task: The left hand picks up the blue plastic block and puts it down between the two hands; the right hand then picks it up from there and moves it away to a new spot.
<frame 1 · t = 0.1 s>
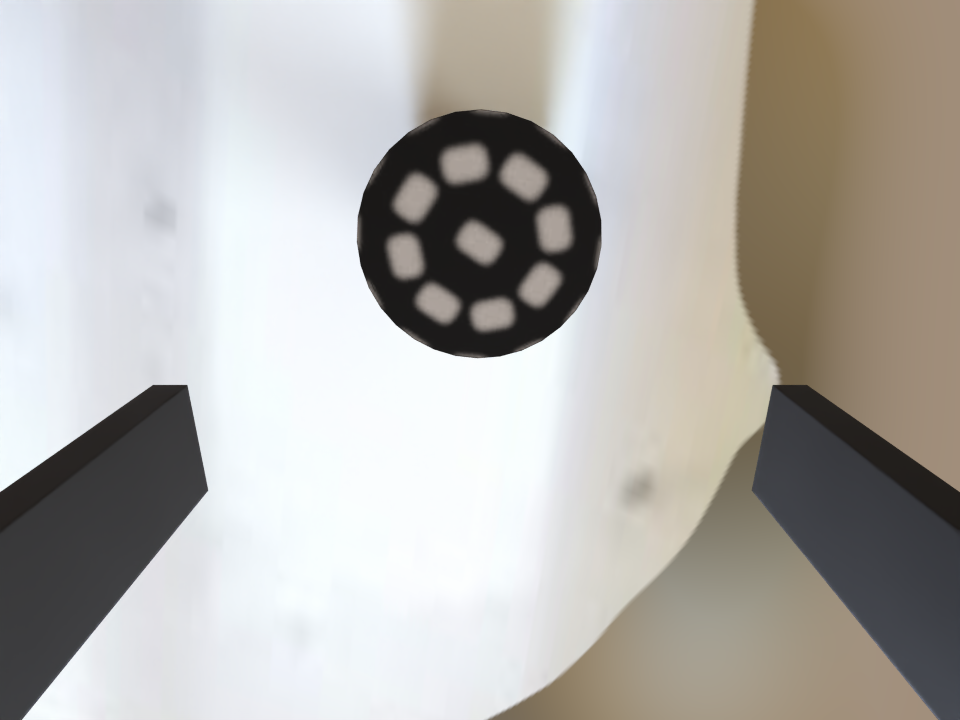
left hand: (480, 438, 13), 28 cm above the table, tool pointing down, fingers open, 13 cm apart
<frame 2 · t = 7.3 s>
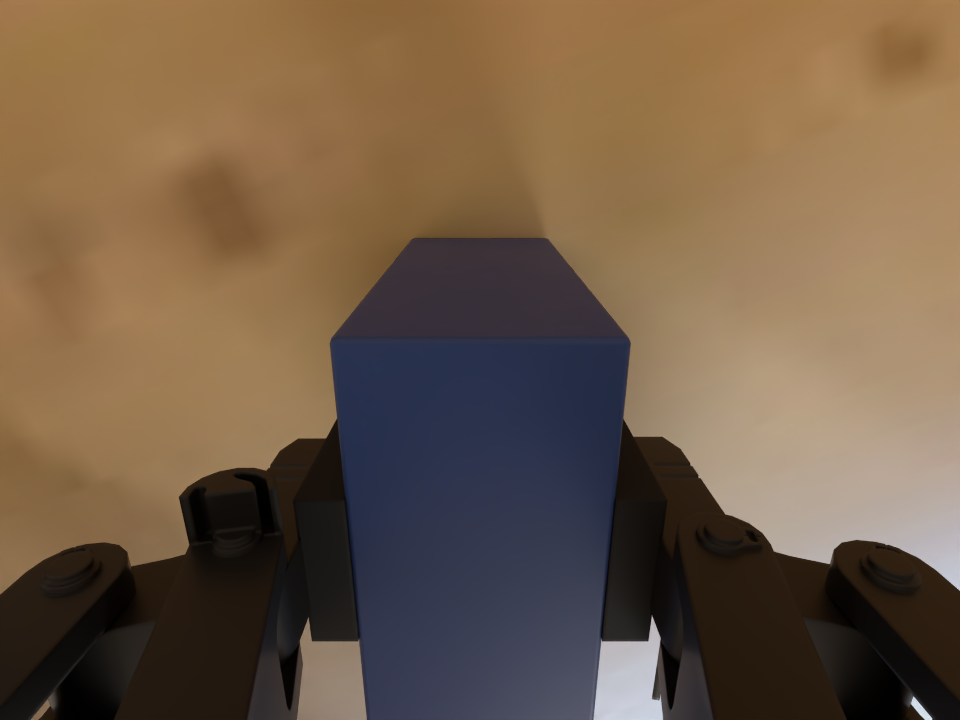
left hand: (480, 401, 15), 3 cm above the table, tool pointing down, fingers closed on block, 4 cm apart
block: (480, 361, 17), on the table, touching left hand
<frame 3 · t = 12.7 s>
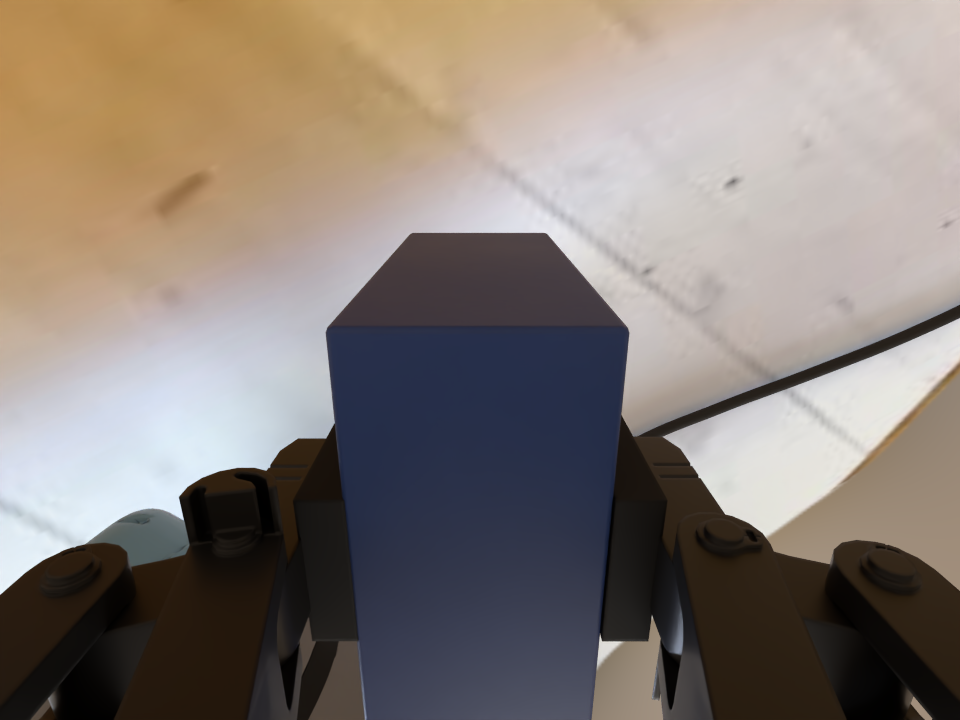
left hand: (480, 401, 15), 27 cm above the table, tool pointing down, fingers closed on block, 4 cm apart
block: (478, 356, 17), point 24 cm above the table, touching left hand
when the left hand's fingers open (5 cm above the table, at t = 18.2 s): block drops 2 cm, on the table.
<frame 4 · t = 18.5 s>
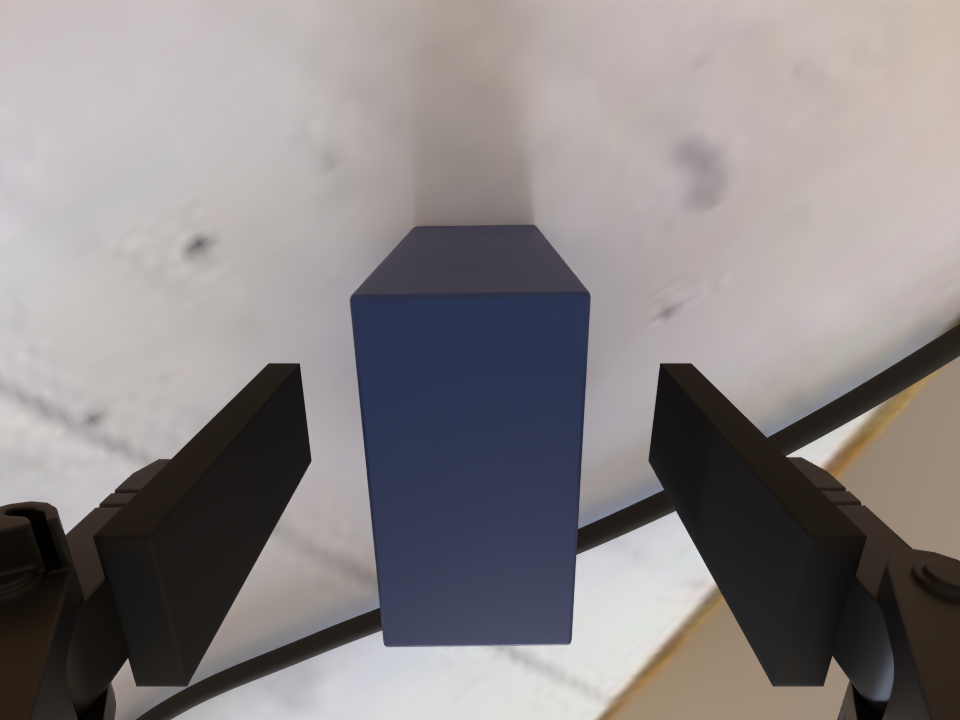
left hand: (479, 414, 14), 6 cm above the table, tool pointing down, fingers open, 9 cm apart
block: (476, 337, 19), on the table
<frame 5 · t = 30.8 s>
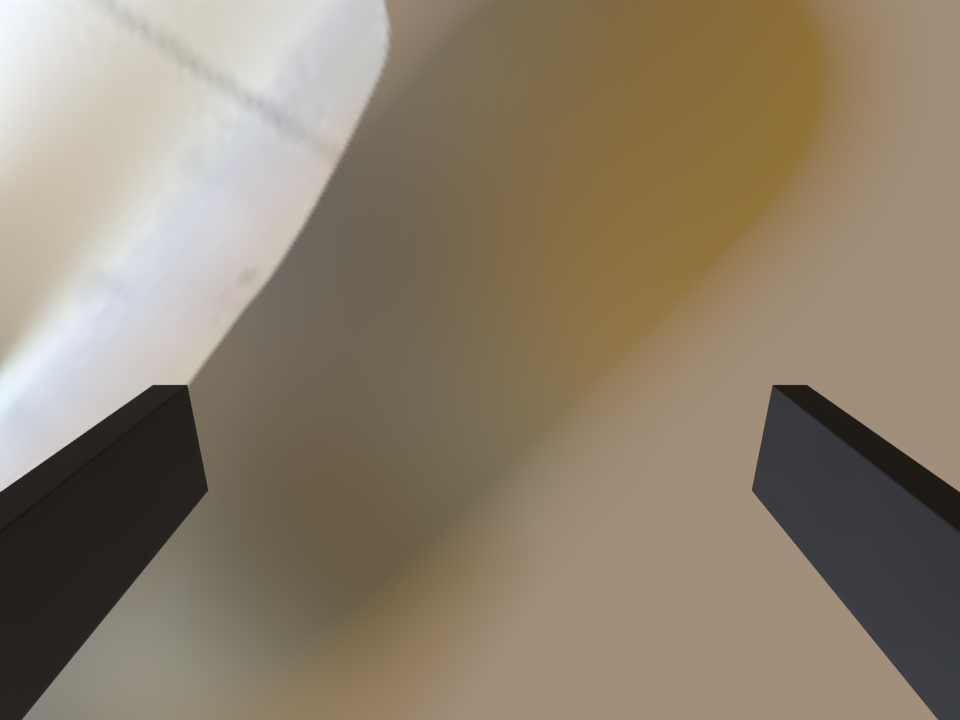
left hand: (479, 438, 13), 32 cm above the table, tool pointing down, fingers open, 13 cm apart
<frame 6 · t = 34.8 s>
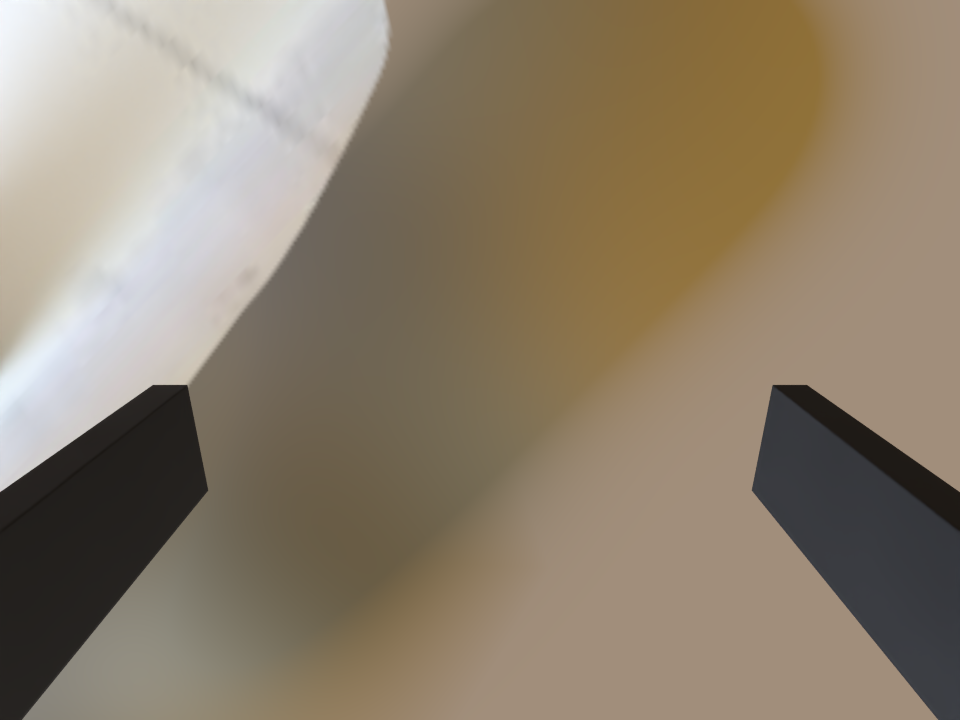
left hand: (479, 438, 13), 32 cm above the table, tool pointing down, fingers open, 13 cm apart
when the right hand's fingers open (7 cm above the table, at t = 39.3 s): block drops 2 cm, on the table.
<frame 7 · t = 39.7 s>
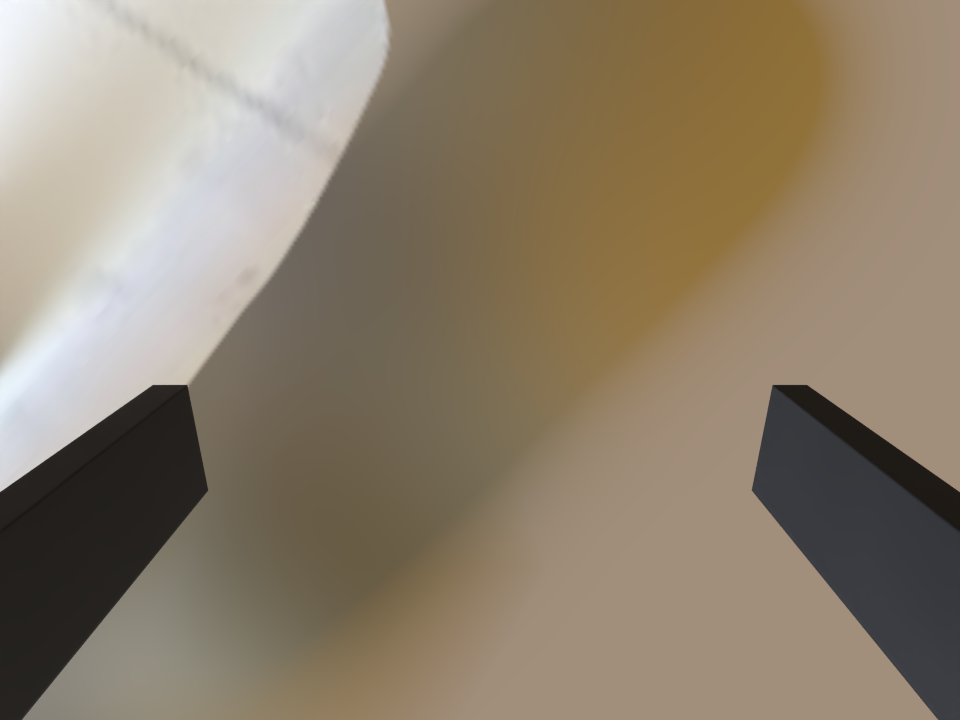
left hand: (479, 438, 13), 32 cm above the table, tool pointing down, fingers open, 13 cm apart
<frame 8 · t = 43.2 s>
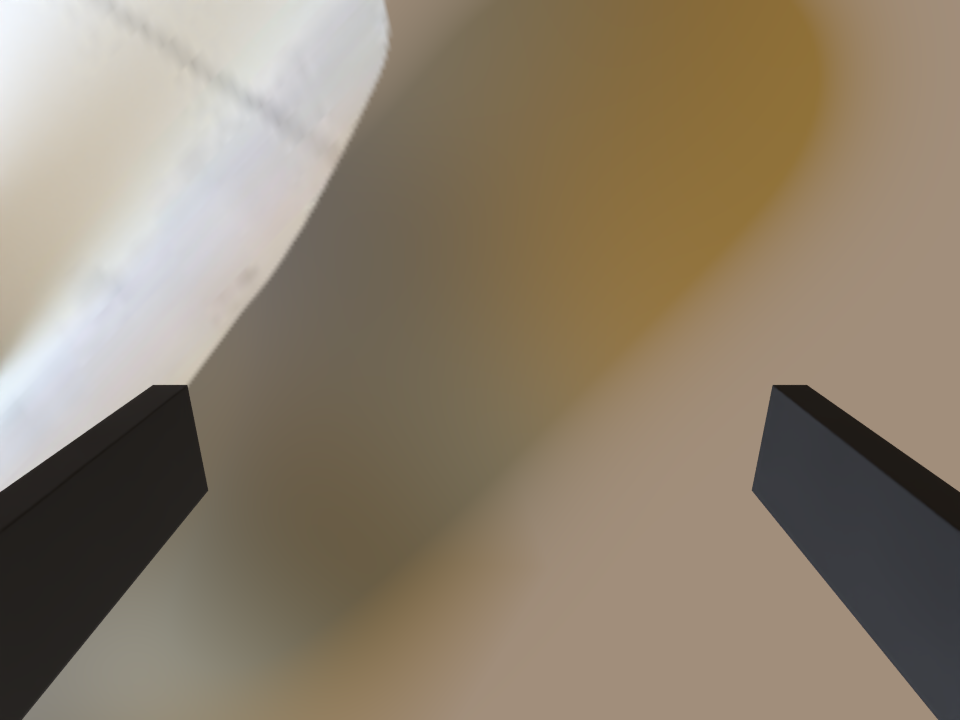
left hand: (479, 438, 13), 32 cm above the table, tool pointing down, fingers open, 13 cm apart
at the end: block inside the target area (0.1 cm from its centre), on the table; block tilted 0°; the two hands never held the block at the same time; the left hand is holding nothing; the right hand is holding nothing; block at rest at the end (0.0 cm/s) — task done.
